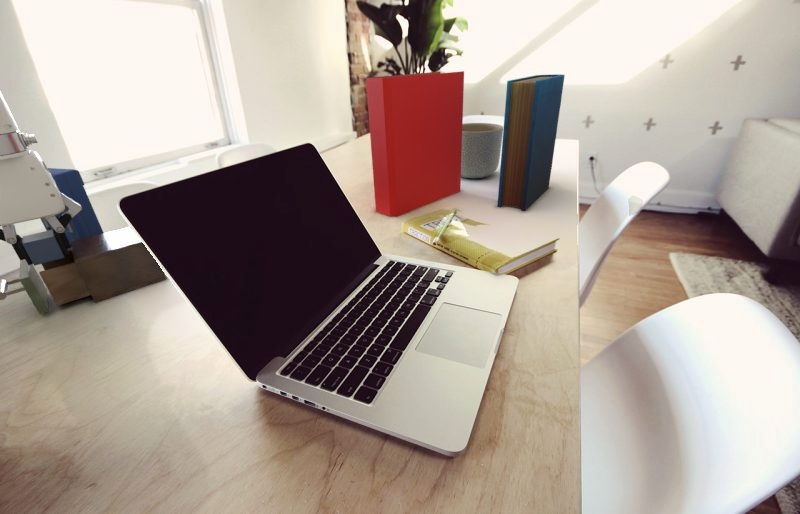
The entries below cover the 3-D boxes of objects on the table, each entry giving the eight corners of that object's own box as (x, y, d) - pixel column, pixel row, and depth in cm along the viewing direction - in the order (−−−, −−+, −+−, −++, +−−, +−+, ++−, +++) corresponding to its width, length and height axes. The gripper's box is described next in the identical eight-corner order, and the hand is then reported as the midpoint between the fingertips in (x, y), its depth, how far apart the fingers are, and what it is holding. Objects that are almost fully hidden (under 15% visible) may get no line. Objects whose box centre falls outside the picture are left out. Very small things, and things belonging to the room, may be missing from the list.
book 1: (439, 186, 118) (440, 71, 103) (460, 191, 113) (464, 71, 98) (373, 210, 102) (362, 78, 87) (393, 217, 96) (386, 78, 82)
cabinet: (95, 302, 67) (74, 260, 63) (88, 281, 74) (69, 241, 70) (166, 278, 73) (151, 239, 69) (154, 261, 80) (140, 224, 76)
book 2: (522, 182, 119) (533, 74, 105) (551, 185, 114) (567, 73, 100) (492, 206, 101) (500, 80, 87) (525, 211, 97) (540, 80, 83)
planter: (438, 173, 131) (438, 126, 124) (477, 165, 138) (479, 121, 131) (468, 185, 118) (470, 134, 111) (510, 176, 125) (514, 127, 118)
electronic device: (63, 269, 78) (13, 173, 69) (87, 258, 83) (44, 166, 73) (97, 274, 76) (50, 175, 67) (120, 262, 80) (80, 168, 71)
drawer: (7, 324, 60) (-16, 289, 57) (9, 301, 67) (-11, 267, 64) (114, 290, 69) (99, 257, 65) (107, 272, 75) (93, 241, 72)
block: (34, 265, 62) (22, 243, 60) (33, 257, 65) (22, 236, 63) (64, 257, 65) (54, 236, 63) (63, 250, 67) (53, 229, 65)
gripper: (61, 136, 64) (104, 236, 72) (-87, 153, 54) (-18, 266, 62) (64, 141, 58) (110, 248, 67) (-99, 161, 49) (-22, 283, 57)
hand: (48, 256), depth 65 cm, fingers closed on block, 4 cm apart
